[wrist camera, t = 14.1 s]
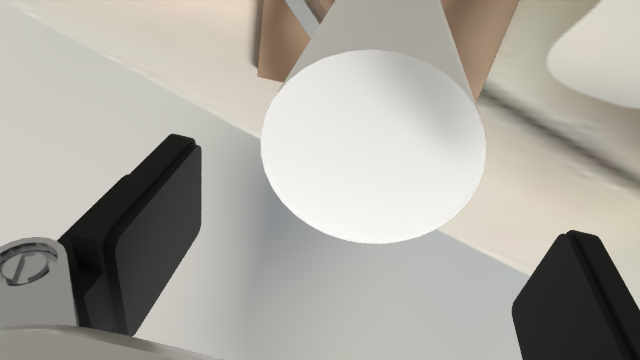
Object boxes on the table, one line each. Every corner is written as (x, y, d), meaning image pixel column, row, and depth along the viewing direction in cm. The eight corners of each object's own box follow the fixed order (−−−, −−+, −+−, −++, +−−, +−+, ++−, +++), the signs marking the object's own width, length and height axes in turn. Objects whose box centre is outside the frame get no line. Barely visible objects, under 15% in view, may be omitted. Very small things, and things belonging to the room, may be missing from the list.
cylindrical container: (328, -15, 34) (216, 124, 14) (407, -73, 31) (416, -5, 11) (373, 59, 37) (336, 266, 16) (450, 13, 34) (523, 197, 13)
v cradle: (560, -111, 29) (586, -112, 25) (465, 117, 40) (473, 144, 35) (281, -167, 30) (261, -177, 26) (260, 72, 40) (244, 93, 36)
